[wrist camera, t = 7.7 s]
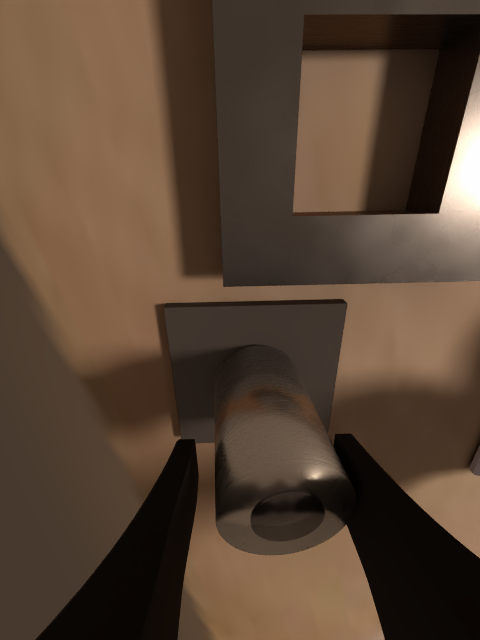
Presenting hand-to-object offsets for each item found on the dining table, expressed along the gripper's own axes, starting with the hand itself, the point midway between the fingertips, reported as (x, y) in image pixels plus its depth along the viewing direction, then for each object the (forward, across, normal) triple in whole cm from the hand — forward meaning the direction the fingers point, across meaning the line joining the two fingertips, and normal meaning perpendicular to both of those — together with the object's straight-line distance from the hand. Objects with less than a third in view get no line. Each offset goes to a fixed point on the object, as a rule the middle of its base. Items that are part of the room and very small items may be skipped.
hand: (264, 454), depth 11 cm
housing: (+5, -4, -12) cm, 13 cm away
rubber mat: (+5, 0, 0) cm, 5 cm away
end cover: (+5, 0, 0) cm, 5 cm away
